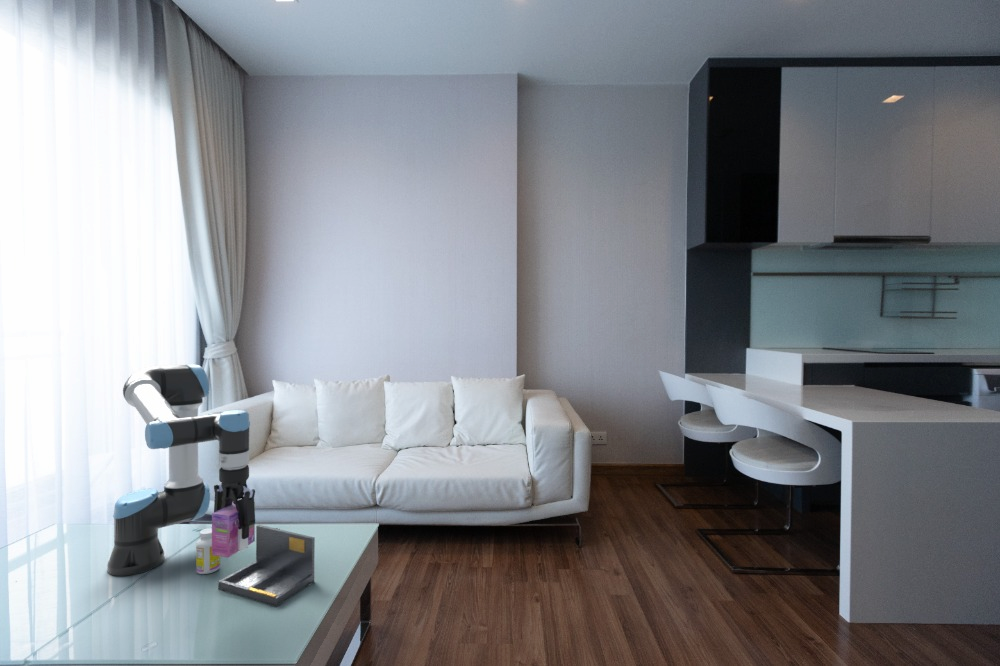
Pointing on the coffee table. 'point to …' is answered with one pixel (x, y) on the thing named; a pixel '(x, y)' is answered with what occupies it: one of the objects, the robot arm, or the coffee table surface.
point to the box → (227, 531)
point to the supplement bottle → (206, 554)
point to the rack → (274, 567)
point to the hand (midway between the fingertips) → (234, 546)
